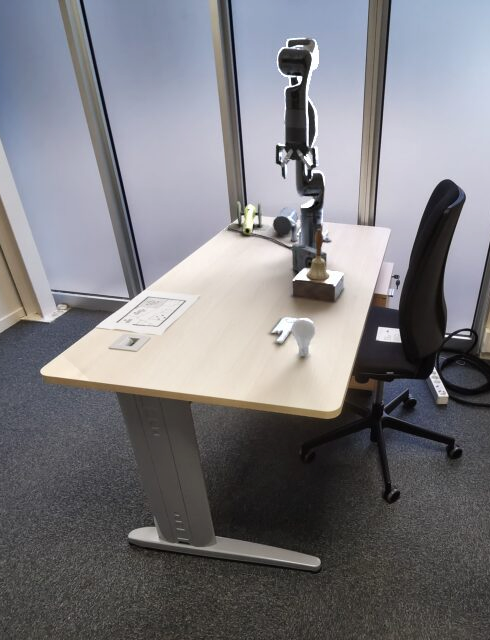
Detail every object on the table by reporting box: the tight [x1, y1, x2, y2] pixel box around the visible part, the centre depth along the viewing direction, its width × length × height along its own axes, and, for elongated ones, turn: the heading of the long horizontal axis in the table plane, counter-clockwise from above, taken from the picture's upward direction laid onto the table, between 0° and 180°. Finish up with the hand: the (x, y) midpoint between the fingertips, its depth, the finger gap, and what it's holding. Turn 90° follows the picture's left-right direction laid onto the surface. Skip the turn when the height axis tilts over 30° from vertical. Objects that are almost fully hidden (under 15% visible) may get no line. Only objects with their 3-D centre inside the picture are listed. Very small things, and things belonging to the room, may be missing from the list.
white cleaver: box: [271, 316, 298, 344], centre depth 132 cm, size 5×15×1 cm, turn 168°
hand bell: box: [306, 229, 330, 280], centre depth 150 cm, size 8×8×16 cm
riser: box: [292, 268, 345, 303], centre depth 156 cm, size 15×13×6 cm
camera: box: [291, 242, 328, 273], centre depth 170 cm, size 16×4×10 cm, turn 47°
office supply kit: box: [272, 206, 331, 243], centre depth 220 cm, size 40×28×9 cm
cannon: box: [236, 200, 263, 236], centre depth 217 cm, size 25×12×11 cm, turn 6°
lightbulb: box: [290, 317, 316, 357], centre depth 118 cm, size 6×6×11 cm
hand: (297, 179), depth 152 cm, fingers open, 8 cm apart
